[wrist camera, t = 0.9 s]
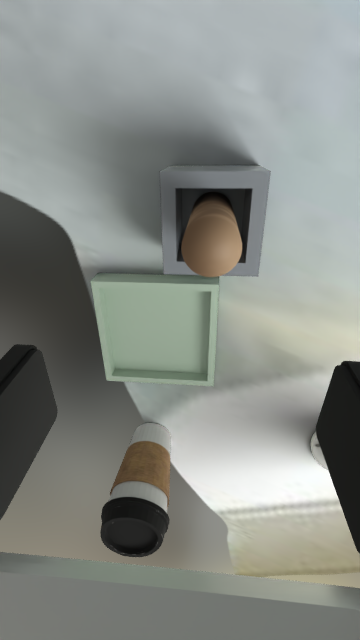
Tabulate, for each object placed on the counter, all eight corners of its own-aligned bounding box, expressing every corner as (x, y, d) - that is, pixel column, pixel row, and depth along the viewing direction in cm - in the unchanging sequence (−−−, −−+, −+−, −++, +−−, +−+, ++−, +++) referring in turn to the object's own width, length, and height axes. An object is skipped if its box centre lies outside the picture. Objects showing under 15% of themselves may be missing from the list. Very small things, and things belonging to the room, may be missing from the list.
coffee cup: (120, 444, 51) (89, 547, 38) (133, 409, 47) (103, 512, 34) (169, 459, 52) (154, 565, 39) (186, 426, 48) (176, 533, 35)
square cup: (259, 165, 30) (270, 171, 24) (250, 252, 34) (258, 276, 28) (170, 165, 30) (159, 171, 24) (172, 250, 34) (163, 274, 28)
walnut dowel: (234, 191, 30) (244, 218, 20) (231, 233, 32) (239, 278, 22) (192, 191, 30) (181, 217, 20) (192, 233, 32) (181, 276, 22)
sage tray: (218, 276, 35) (219, 284, 33) (213, 373, 42) (213, 386, 40) (97, 273, 37) (90, 281, 34) (111, 368, 44) (106, 380, 41)
